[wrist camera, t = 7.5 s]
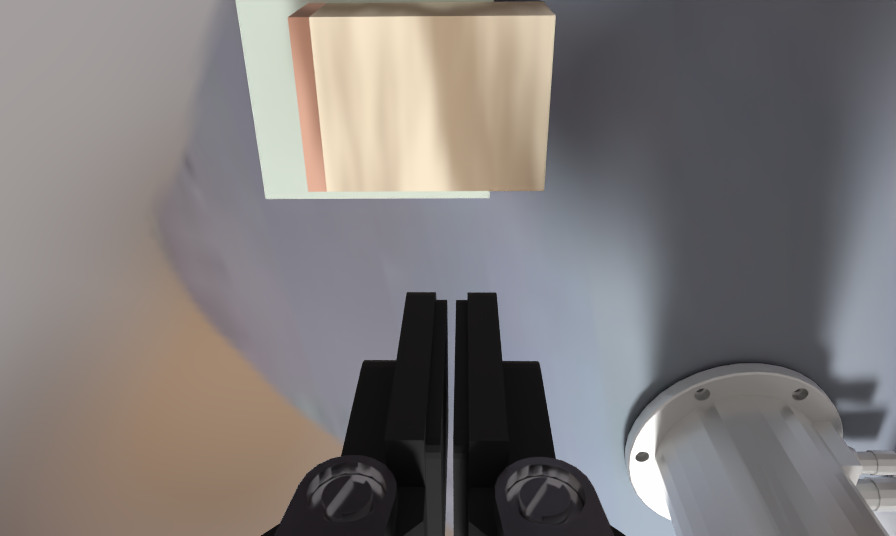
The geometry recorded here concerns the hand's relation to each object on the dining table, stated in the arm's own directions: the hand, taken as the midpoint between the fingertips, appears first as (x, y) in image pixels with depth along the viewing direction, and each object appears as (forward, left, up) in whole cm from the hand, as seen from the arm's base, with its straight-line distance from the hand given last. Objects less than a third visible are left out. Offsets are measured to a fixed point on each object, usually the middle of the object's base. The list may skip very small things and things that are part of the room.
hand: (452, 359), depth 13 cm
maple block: (-4, 0, -18) cm, 18 cm away
